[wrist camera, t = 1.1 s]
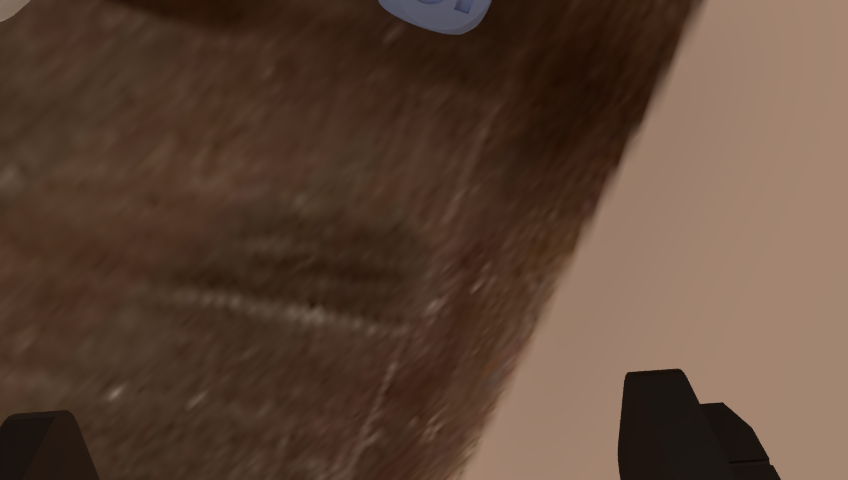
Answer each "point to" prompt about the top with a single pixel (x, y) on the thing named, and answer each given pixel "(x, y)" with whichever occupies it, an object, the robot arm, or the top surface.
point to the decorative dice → (439, 13)
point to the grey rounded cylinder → (10, 8)
